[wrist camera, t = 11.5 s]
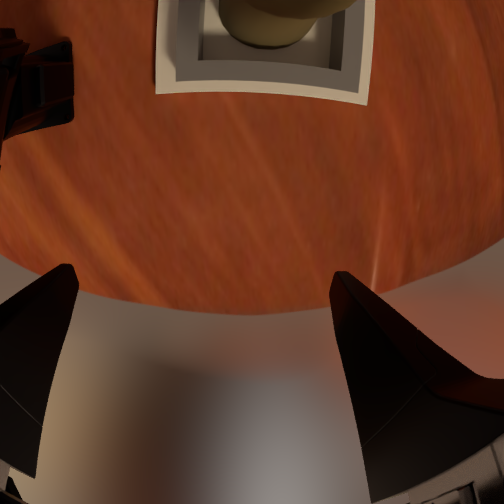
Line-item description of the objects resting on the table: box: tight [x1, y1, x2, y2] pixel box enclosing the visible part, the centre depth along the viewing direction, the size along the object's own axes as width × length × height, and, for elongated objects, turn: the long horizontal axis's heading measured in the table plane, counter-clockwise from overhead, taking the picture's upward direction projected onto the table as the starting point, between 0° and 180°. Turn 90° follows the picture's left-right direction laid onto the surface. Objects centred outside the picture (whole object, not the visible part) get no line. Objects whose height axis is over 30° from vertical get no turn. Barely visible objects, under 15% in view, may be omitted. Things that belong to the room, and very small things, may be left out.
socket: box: [156, 0, 375, 106], centre depth 13 cm, size 14×12×4 cm
